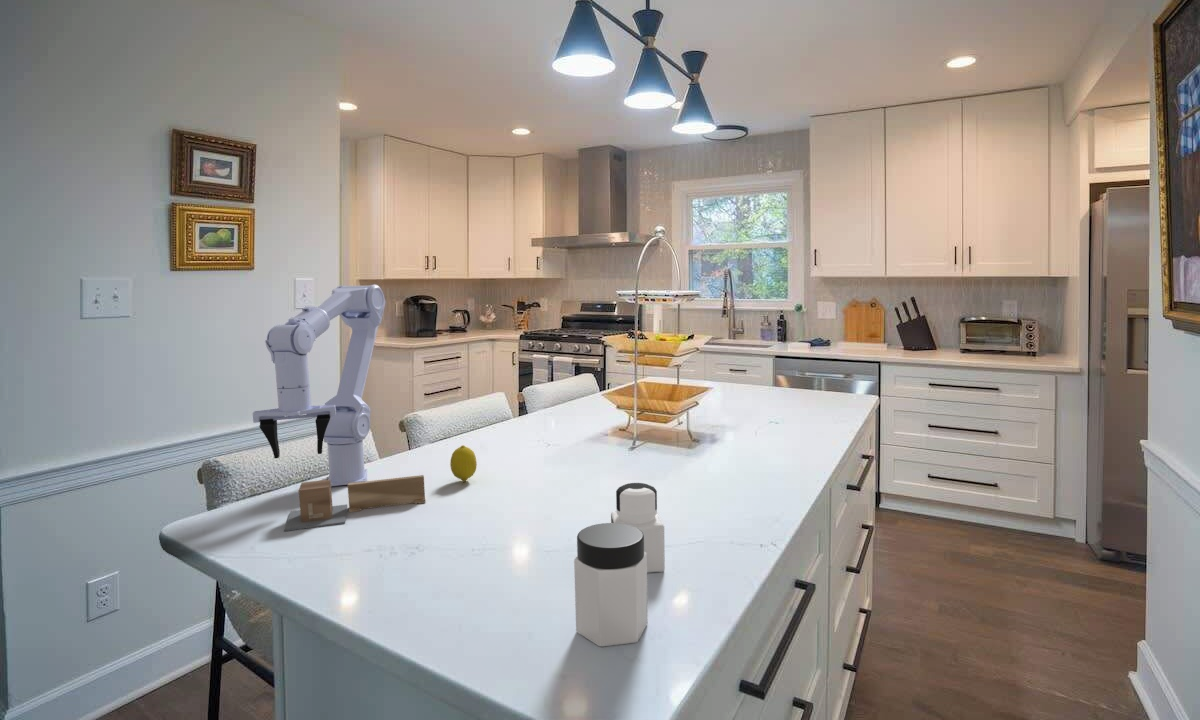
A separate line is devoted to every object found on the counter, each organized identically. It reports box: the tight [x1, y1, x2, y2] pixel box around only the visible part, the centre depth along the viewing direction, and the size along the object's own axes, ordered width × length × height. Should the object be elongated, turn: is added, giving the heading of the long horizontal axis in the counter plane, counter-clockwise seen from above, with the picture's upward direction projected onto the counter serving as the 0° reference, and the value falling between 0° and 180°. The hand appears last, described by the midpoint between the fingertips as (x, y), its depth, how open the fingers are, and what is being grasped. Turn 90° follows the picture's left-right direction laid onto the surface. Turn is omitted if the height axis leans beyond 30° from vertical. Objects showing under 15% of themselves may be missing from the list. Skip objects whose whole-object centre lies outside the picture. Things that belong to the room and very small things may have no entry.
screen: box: [347, 474, 426, 513], centre depth 126 cm, size 3×14×5 cm, turn 109°
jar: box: [573, 522, 649, 648], centre depth 79 cm, size 9×8×12 cm
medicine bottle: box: [610, 482, 666, 574], centre depth 97 cm, size 7×7×12 cm
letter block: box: [298, 479, 333, 523], centre depth 120 cm, size 5×5×6 cm
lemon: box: [449, 445, 478, 483], centre depth 140 cm, size 6×6×8 cm
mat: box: [283, 503, 348, 532], centre depth 120 cm, size 10×10×1 cm
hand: (298, 454), depth 127 cm, fingers open, 7 cm apart
